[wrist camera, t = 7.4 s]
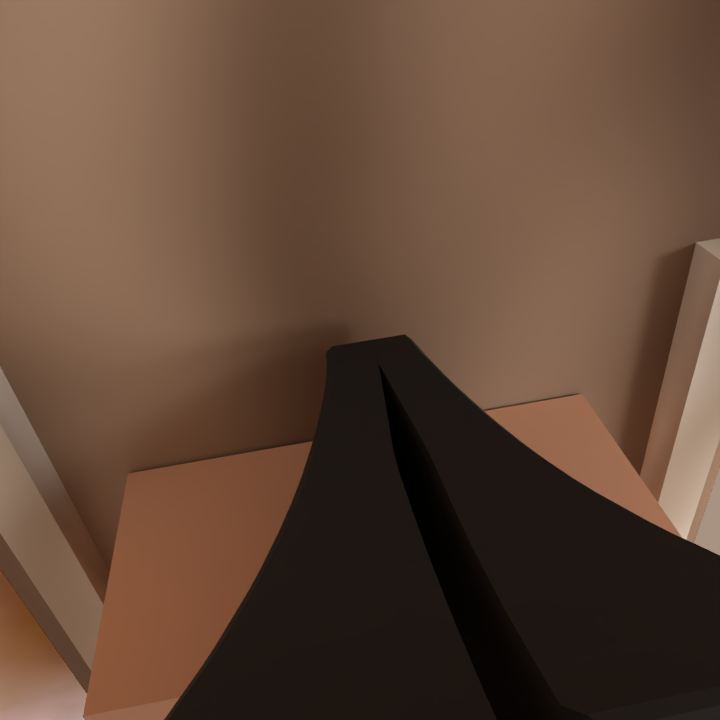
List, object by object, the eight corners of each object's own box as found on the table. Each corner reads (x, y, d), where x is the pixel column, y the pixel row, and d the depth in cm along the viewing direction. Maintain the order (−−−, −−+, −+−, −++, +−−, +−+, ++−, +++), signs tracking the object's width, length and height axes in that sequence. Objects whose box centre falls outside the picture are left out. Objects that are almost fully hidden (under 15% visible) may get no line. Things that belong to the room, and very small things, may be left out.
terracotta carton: (582, 393, 13) (718, 588, 9) (547, 616, 18) (627, 802, 14) (128, 473, 12) (83, 717, 9) (220, 682, 17) (216, 895, 13)
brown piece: (924, -658, 7) (1302, -969, 5) (627, 541, 20) (686, 636, 18) (-573, -576, 6) (-1164, -925, 4) (122, 639, 19) (103, 756, 17)
